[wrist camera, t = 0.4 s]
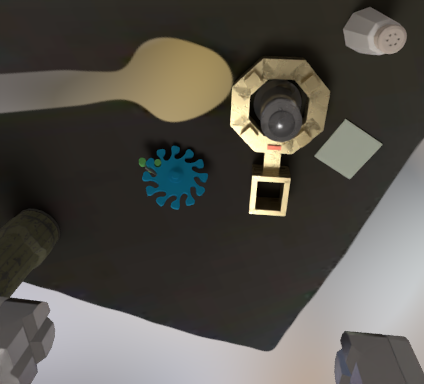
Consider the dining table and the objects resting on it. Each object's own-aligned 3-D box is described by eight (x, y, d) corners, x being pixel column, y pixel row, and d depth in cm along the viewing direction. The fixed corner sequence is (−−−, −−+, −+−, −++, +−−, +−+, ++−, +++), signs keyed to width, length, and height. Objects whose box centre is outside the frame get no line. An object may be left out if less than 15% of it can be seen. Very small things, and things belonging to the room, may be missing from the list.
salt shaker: (394, 32, 46) (431, 42, 36) (356, 61, 48) (382, 78, 38) (372, -4, 44) (404, -3, 35) (334, 28, 46) (354, 37, 37)
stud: (255, 78, 50) (255, 95, 42) (304, 80, 50) (315, 98, 41) (251, 124, 54) (251, 149, 45) (297, 127, 53) (306, 152, 45)
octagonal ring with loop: (234, 54, 49) (233, 59, 45) (331, 58, 48) (338, 63, 44) (227, 198, 60) (225, 211, 56) (305, 204, 59) (309, 218, 55)
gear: (219, 165, 56) (188, 219, 53) (213, 175, 61) (184, 225, 58) (158, 129, 55) (122, 182, 53) (157, 143, 61) (125, 192, 58)
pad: (313, 155, 55) (314, 156, 55) (345, 118, 52) (345, 119, 52) (349, 178, 56) (349, 179, 56) (382, 143, 53) (382, 144, 53)
